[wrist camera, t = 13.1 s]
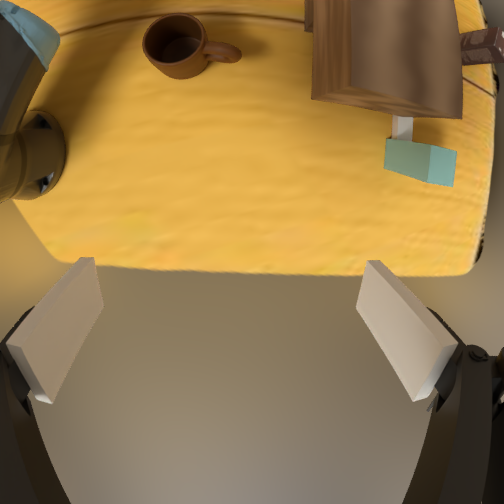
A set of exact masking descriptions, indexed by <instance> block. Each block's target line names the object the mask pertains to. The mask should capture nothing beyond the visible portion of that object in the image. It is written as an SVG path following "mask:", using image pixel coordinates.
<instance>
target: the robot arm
mask: <svg viewBox="0 0 504 504" xmlns="http://www.w3.org/2000/svg"><path fill="white" fill-rule="evenodd" d="M59 45H60V36H59V34H58V32H57V31H56V30H55V29H54V28H53V27H52V26H51V25H49V24H48V23H47V22H45V21H44V20H42V19H41V18H39V17H38V16H36V15H35V14H33V13H31V12H30V11H28V10H26V9H24V8H20V7H19V6H17V5H15V4H14V3H12V2H9V1H6V0H1V1H0V203H2V202H4V201H6V200H8V199H18V200H32V199H36V198H38V197H40V196H42V195H44V194H46V193H47V192H49V191H50V190H51V189H52V188H53V187H54V186H55V184H56V183H57V181H58V179H59V177H60V175H61V173H62V170H63V166H64V162H65V140H64V135H63V132H62V129H61V127H60V125H59V123H58V122H57V121H56V119H55V118H54V117H53V116H51V115H50V114H48V113H46V112H43V111H27V108H28V106H29V104H30V102H31V100H32V98H33V95H34V93H35V91H36V89H37V87H38V85H39V83H40V82H41V80H42V78H43V76H44V74H45V72H47V71H48V69H49V64H50V62H51V60H52V58H53V56H54V55H55V53H56V51H57V49H58V47H59ZM26 111H27V112H26ZM103 307H104V304H103V300H102V295H101V291H100V286H99V281H98V277H97V271H96V266H95V261H94V257H81V258H80V259H79V260H78V261H77V262H76V263H75V264H74V265H73V266H72V267H71V268H70V269H69V270H68V271H67V272H66V273H65V274H64V275H63V276H62V277H61V278H60V279H59V280H58V281H57V283H56V284H55V285H54V286H53V287H52V288H51V289H50V290H49V291H48V293H47V294H46V295H45V296H44V297H43V298H42V299H41V300H40V301H39V303H38V304H37V305H36V306H34V307H32V308H31V309H29V310H28V311H26V312H25V313H24V314H23V315H22V317H21V318H20V319H19V321H18V322H17V323H16V324H15V325H14V327H12V329H11V330H10V331H9V332H8V334H7V335H6V336H5V338H4V339H3V340H2V342H1V343H0V504H71V503H70V501H69V499H68V497H67V495H66V493H65V491H64V489H63V487H62V485H61V483H60V481H59V479H58V477H57V474H56V472H55V470H54V467H53V465H52V463H51V461H50V458H49V455H48V453H47V450H46V448H45V445H44V442H43V439H42V437H41V434H40V431H39V428H38V425H37V422H36V419H35V415H34V412H33V409H32V405H31V401H30V400H29V398H28V396H27V395H28V393H29V391H30V389H31V391H32V392H33V394H34V396H35V397H36V399H37V400H40V401H43V402H47V403H50V404H53V402H54V399H55V397H56V395H57V393H58V391H59V389H60V387H61V385H62V383H63V381H64V379H65V376H66V375H67V372H68V371H69V369H70V367H71V365H72V363H73V361H74V359H75V357H76V355H77V353H78V351H79V349H80V347H81V346H82V344H83V342H84V340H85V339H86V337H87V335H88V333H89V331H90V330H91V328H92V326H93V324H94V322H95V321H96V319H97V317H98V316H99V314H100V312H101V311H102V309H103ZM356 309H357V311H358V312H359V314H360V315H361V317H362V318H363V320H364V321H365V323H366V325H367V326H368V328H369V329H370V331H371V332H372V334H373V336H374V337H375V339H376V340H377V342H378V343H379V345H380V347H381V348H382V350H383V352H384V353H385V355H386V357H387V358H388V360H389V362H390V363H391V365H392V367H393V368H394V370H395V372H396V373H397V375H398V377H399V378H400V380H401V382H402V383H403V385H404V387H405V389H406V390H407V392H408V394H409V396H410V397H411V399H412V401H416V400H420V399H423V398H426V397H428V396H429V394H430V393H431V391H432V390H433V388H434V386H435V388H436V389H437V391H438V393H437V395H436V397H435V398H434V400H433V401H432V403H431V404H430V406H429V407H428V409H427V411H428V412H429V410H430V409H431V408H432V407H433V408H432V413H431V417H430V422H429V426H428V429H427V433H426V437H425V440H424V444H423V447H422V450H421V454H420V457H419V460H418V463H417V466H416V469H415V472H414V475H413V478H412V480H411V483H410V485H409V488H408V491H407V493H406V496H405V498H404V500H403V503H402V504H481V501H482V504H504V402H503V403H501V400H500V398H501V397H502V396H503V394H504V347H503V348H502V350H501V351H500V353H499V355H498V356H489V355H488V354H487V352H486V351H485V350H484V349H482V348H481V347H479V346H476V345H467V346H466V345H465V344H464V343H463V342H462V340H461V339H460V338H459V337H458V336H457V335H456V334H455V332H454V331H453V330H452V329H451V328H450V327H448V325H447V324H446V323H445V322H443V319H442V318H441V317H440V316H439V315H438V314H437V313H436V312H434V311H433V310H431V309H429V308H428V307H425V306H424V304H423V303H422V302H421V301H420V300H419V299H418V298H417V297H416V296H415V295H414V294H413V293H412V292H411V291H410V290H409V289H408V288H407V287H406V286H405V285H404V284H403V283H402V282H401V281H400V280H399V279H398V278H397V277H396V276H395V275H394V274H393V273H392V272H391V271H390V270H389V269H388V268H387V267H386V266H385V265H384V264H383V263H382V262H381V261H380V260H367V262H366V267H365V271H364V276H363V280H362V284H361V288H360V293H359V297H358V301H357V305H356Z"/></svg>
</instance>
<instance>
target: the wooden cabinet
mask: <svg viewBox="0 0 504 504" xmlns="http://www.w3.org/2000/svg"><path fill="white" fill-rule="evenodd" d="M305 31H306V32H312V33H313V70H312V95H311V99H312V100H320V101H326V102H333V103H339V104H345V105H350V106H356V107H361V108H366V109H370V110H375V111H380V112H384V113H388V114H392V115H396V116H400V117H429V118H450V119H462V109H463V80H462V59H461V46H460V37H459V29H458V21H457V15H456V9H455V4H454V0H305Z"/></svg>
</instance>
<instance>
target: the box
mask: <svg viewBox="0 0 504 504" xmlns="http://www.w3.org/2000/svg"><path fill="white" fill-rule="evenodd" d="M459 37H460V46H461V59H462V64H463V65H464V66H465V65H475V64H487V63H504V33H503V31H502V30H501V29H500V27H495V28H489V29H482V30H477V31H472V32H467V33H462V34H459Z"/></svg>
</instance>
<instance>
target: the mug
mask: <svg viewBox="0 0 504 504" xmlns="http://www.w3.org/2000/svg"><path fill="white" fill-rule="evenodd" d="M142 46H143V51H144V53H145V55H146V57H147V58H148V59H149V61H150V62H151V63H152V64H153V65H154V66H155V67H156V68H158V69H159V70H160V71H161V72H163V73H164V74H165V75H167V76H169V77H171V78H174V79H188V78H191V77H194V76H196V75H197V74H199V73H200V72H201V71H202V70H203V69H204V68H205V67H206V65H207V64H208V62H209V60H211V61H218V62H223V63H235V62H238V61H239V60H240V59H241V57H242V53H241V51H240V50H239V49H238V48H237V47H235V46H233V45H230V44H226V43H221V42H211V41H208V38H207V34H206V31H205V29H204V27H203V25H202V24H201V22H200V21H199V20H198V19H197V18H195V17H194V16H192V15H189V14H185V13H173V14H168V15H165V16H163V17H161V18H159V19H157V20H156V21H155V22H153V23H152V24H151V25H150V26H149V28H148V29H147V31H146V32H145V34H144V37H143V42H142Z"/></svg>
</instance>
